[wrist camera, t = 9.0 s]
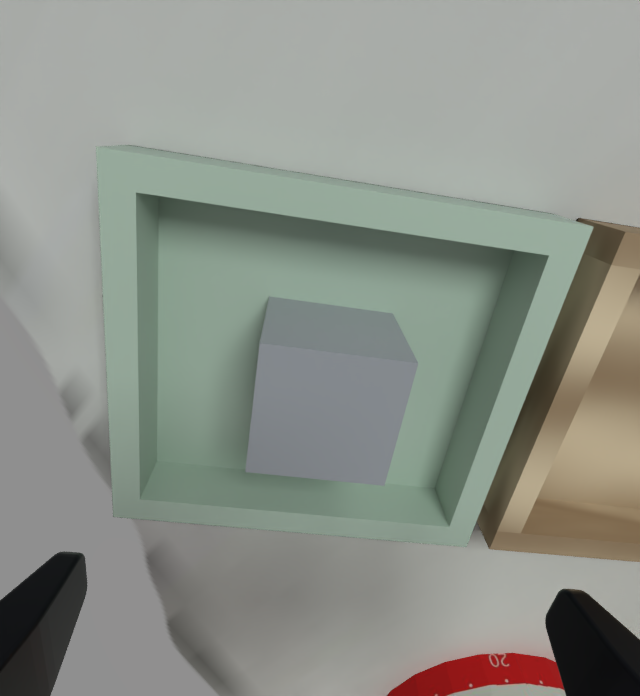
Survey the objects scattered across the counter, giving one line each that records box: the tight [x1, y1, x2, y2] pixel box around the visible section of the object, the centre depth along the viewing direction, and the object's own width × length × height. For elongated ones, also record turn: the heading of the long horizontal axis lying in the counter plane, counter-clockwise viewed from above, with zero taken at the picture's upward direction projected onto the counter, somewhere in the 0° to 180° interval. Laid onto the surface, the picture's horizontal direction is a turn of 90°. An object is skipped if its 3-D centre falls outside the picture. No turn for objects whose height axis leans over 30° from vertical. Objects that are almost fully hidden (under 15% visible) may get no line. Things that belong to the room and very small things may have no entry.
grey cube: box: [245, 296, 418, 486], centre depth 15 cm, size 4×4×4 cm
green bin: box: [96, 145, 594, 547], centre depth 16 cm, size 13×14×2 cm
